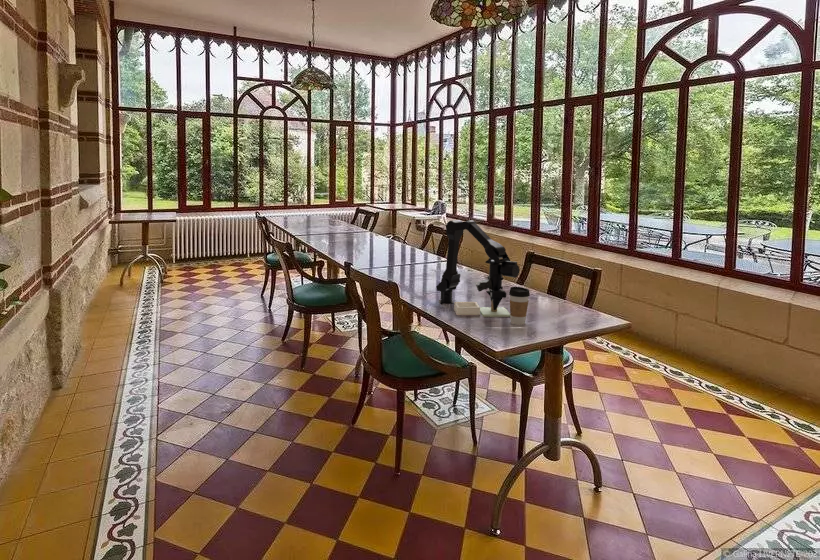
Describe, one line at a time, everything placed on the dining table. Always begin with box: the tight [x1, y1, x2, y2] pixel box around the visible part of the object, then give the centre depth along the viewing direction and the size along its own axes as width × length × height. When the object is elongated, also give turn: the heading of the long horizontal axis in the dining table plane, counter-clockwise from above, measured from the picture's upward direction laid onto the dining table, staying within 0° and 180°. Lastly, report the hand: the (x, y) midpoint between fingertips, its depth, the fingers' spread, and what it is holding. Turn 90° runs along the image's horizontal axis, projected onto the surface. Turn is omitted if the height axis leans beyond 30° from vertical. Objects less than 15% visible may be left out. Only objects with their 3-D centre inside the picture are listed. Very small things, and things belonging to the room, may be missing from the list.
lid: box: [480, 300, 510, 318], centre depth 236 cm, size 12×12×6 cm
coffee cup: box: [508, 286, 531, 326], centre depth 221 cm, size 8×8×15 cm
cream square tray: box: [453, 301, 481, 317], centre depth 237 cm, size 10×10×4 cm
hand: (494, 308), depth 236 cm, fingers closed on lid, 3 cm apart
